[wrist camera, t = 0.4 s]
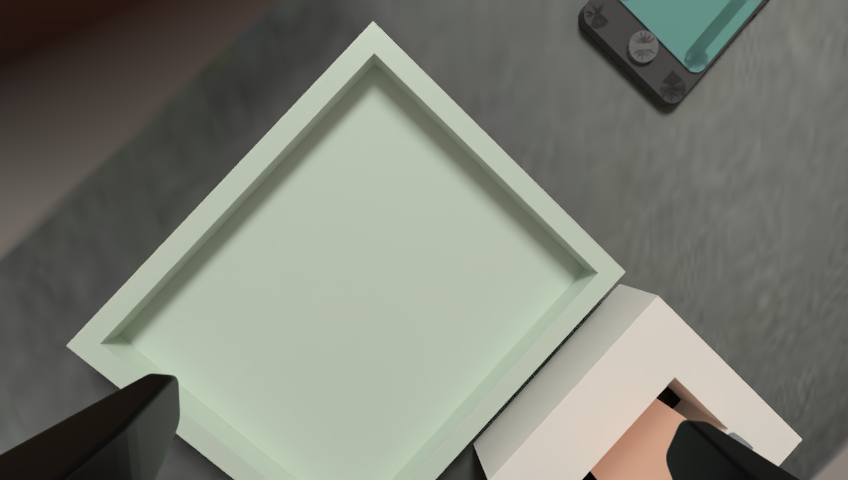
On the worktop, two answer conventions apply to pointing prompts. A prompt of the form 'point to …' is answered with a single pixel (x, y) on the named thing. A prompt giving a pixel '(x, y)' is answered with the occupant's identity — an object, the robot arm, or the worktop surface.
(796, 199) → the worktop surface
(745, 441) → the white slotted base
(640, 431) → the salmon pink rectangular block
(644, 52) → the smartphone
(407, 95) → the tray
